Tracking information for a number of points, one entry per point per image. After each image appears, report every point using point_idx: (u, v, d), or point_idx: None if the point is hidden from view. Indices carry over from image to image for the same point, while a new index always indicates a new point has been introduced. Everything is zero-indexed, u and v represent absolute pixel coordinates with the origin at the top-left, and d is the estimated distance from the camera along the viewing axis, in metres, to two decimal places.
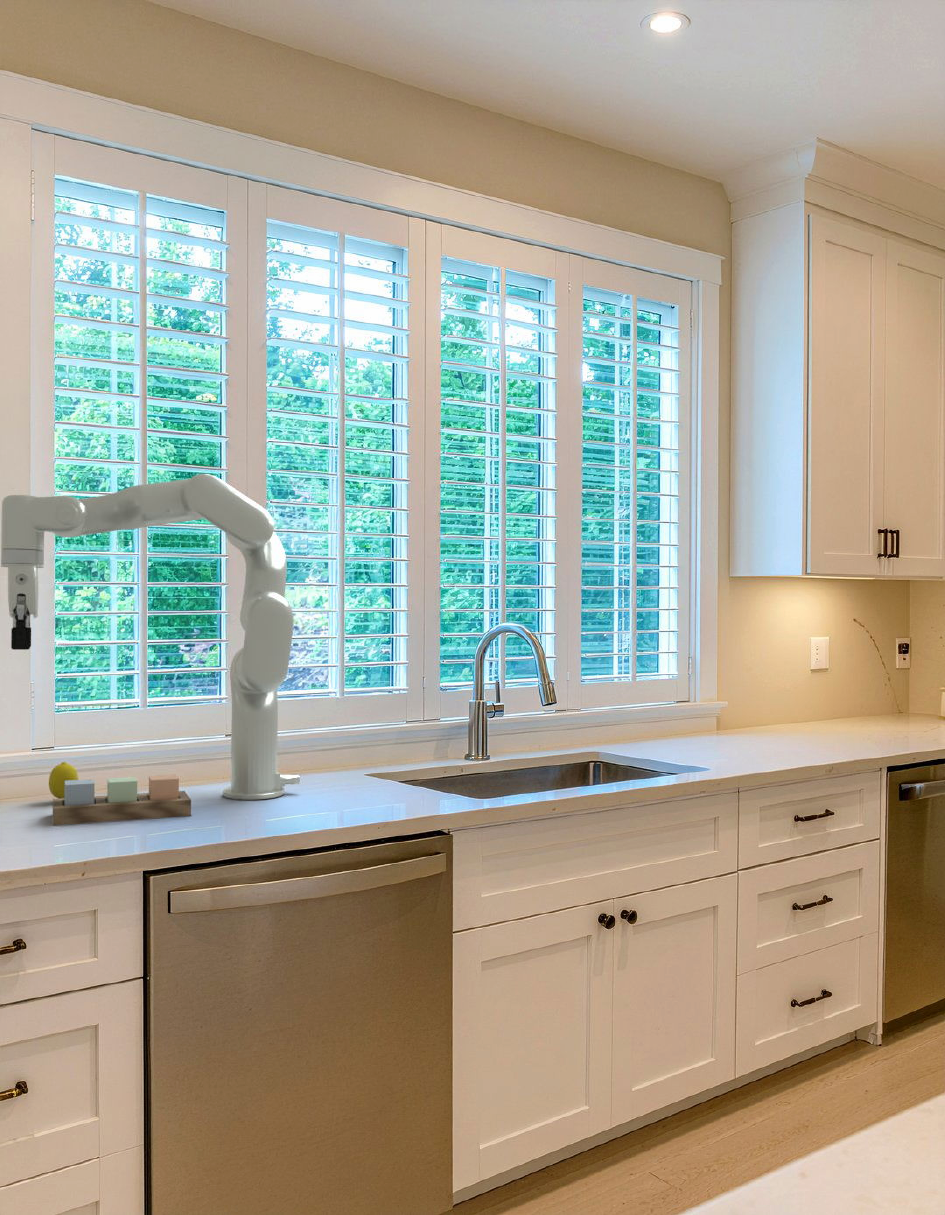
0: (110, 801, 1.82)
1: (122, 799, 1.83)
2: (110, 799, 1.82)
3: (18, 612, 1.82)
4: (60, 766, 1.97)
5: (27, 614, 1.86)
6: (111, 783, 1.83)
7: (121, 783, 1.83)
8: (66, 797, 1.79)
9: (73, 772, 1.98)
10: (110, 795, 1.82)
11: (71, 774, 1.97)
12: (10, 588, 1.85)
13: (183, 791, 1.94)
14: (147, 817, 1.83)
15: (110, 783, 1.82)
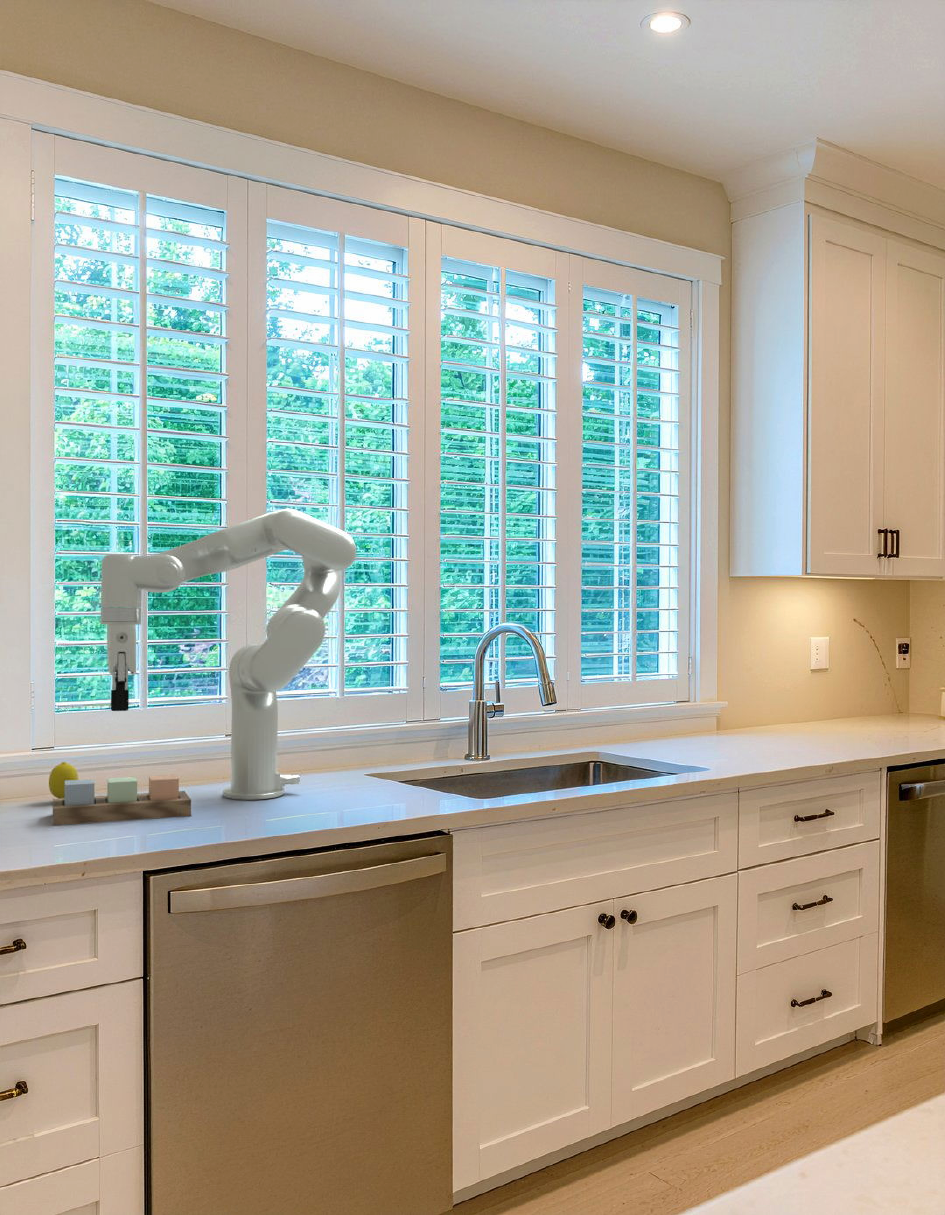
0: (110, 801, 1.82)
1: (122, 799, 1.83)
2: (110, 799, 1.82)
3: (119, 682, 1.89)
4: (60, 766, 1.97)
5: (126, 677, 1.92)
6: (111, 783, 1.83)
7: (121, 783, 1.83)
8: (66, 797, 1.79)
9: (73, 772, 1.98)
10: (110, 795, 1.82)
11: (71, 774, 1.97)
12: (111, 646, 1.88)
13: (183, 791, 1.94)
14: (147, 817, 1.83)
15: (110, 783, 1.82)
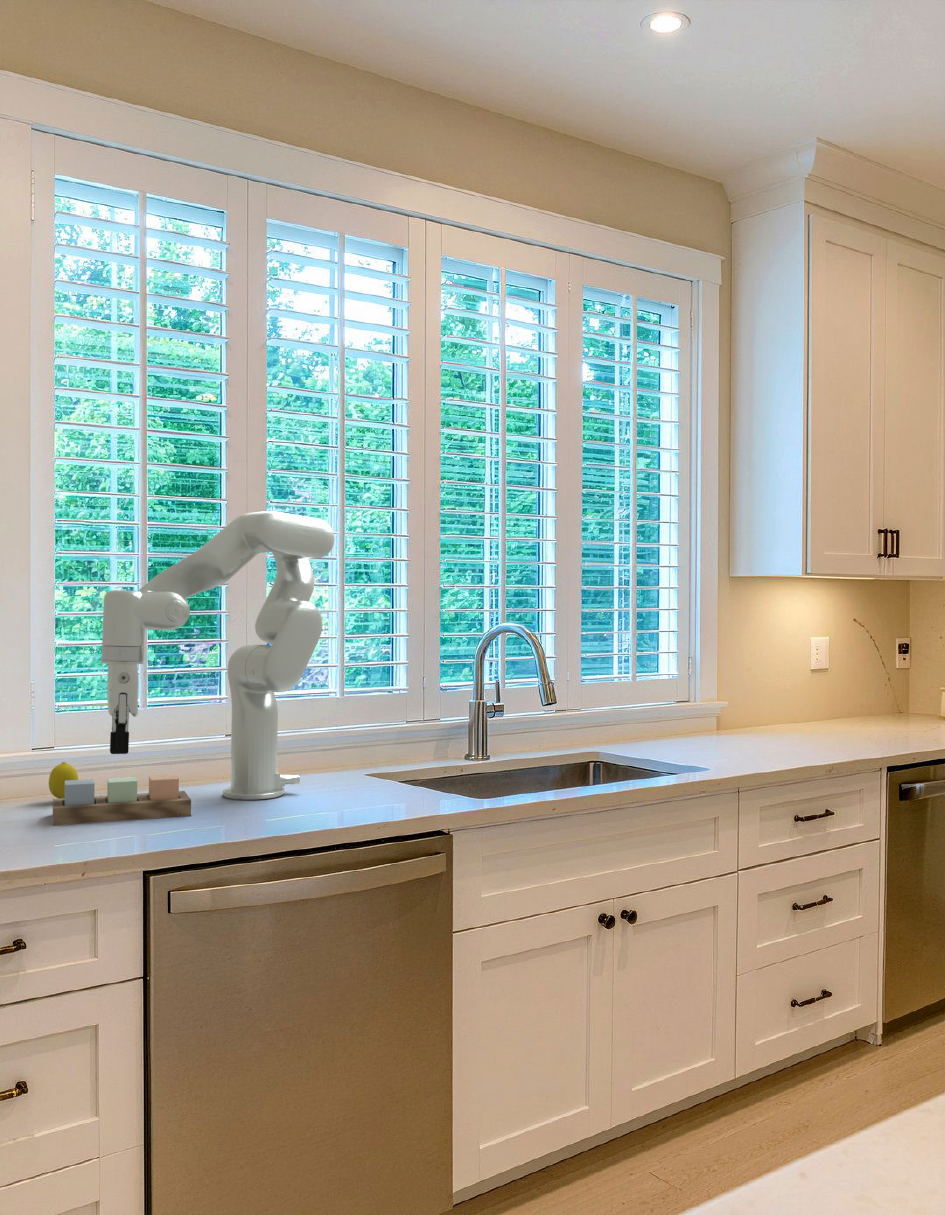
0: (110, 801, 1.82)
1: (122, 799, 1.83)
2: (110, 799, 1.82)
3: (119, 724, 1.81)
4: (60, 766, 1.97)
5: (127, 719, 1.84)
6: (111, 783, 1.83)
7: (121, 783, 1.83)
8: (66, 797, 1.79)
9: (73, 772, 1.98)
10: (110, 795, 1.82)
11: (71, 774, 1.97)
12: (112, 687, 1.81)
13: (183, 791, 1.94)
14: (147, 817, 1.83)
15: (110, 783, 1.82)
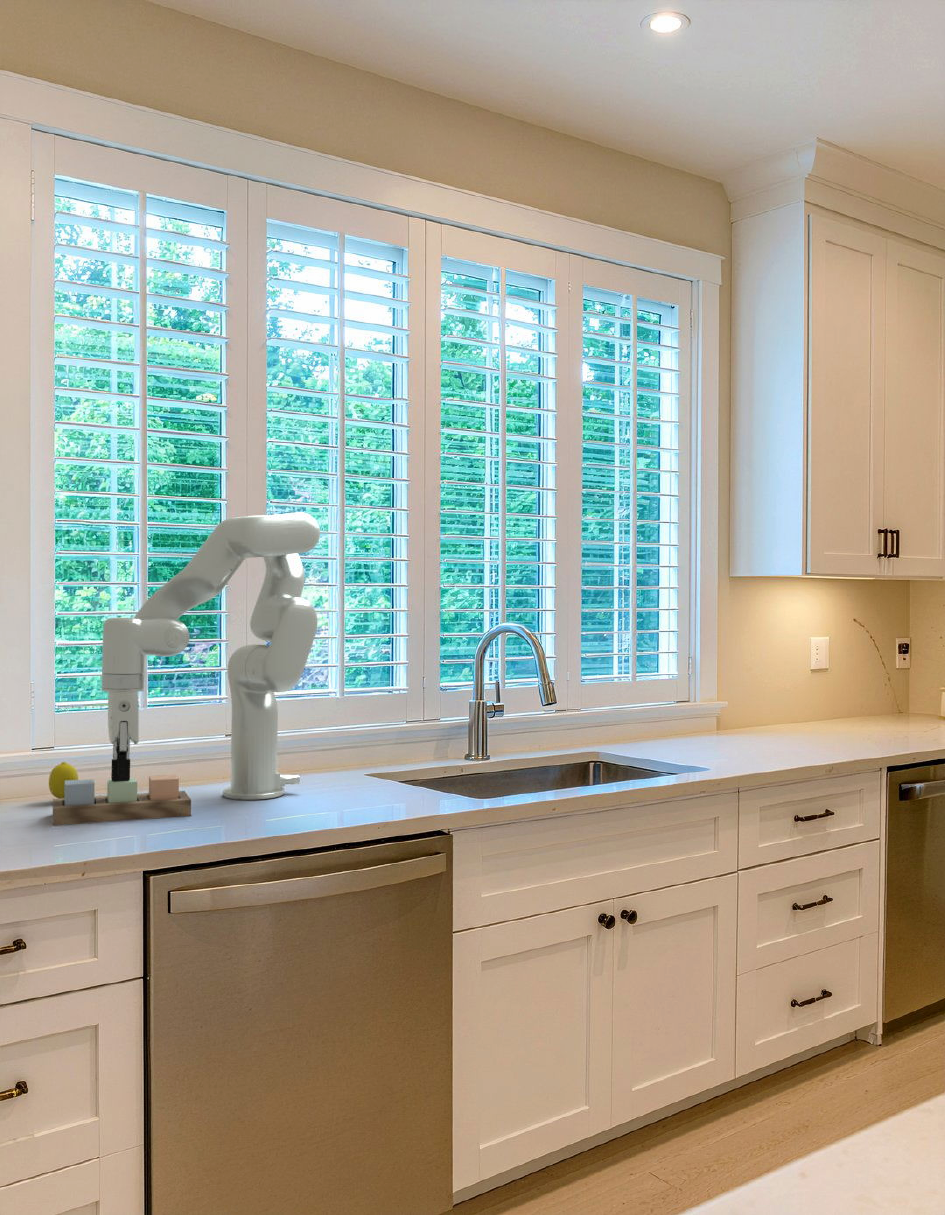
0: (110, 802, 1.82)
1: (122, 800, 1.83)
2: (110, 800, 1.82)
3: (120, 752, 1.82)
4: (60, 766, 1.97)
5: (128, 746, 1.84)
6: (111, 784, 1.83)
7: (121, 784, 1.83)
8: (66, 797, 1.79)
9: (73, 772, 1.98)
10: (110, 796, 1.82)
11: (71, 774, 1.97)
12: (112, 715, 1.81)
13: (183, 791, 1.94)
14: (147, 817, 1.83)
15: (110, 784, 1.82)
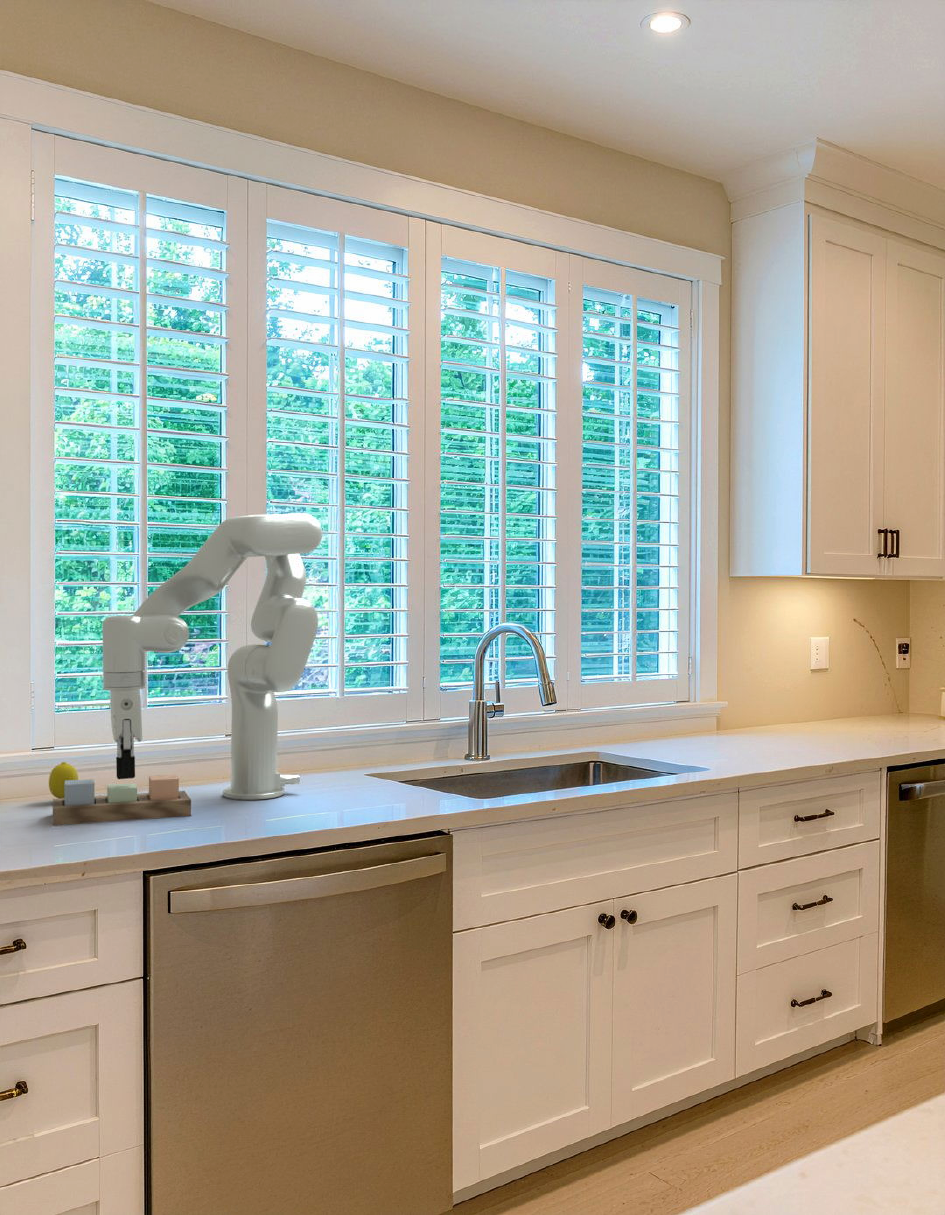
0: None
1: None
2: None
3: (124, 750, 1.82)
4: (60, 766, 1.97)
5: (132, 744, 1.85)
6: (111, 790, 1.83)
7: (121, 790, 1.83)
8: (66, 797, 1.79)
9: (73, 772, 1.98)
10: (110, 802, 1.82)
11: (71, 774, 1.97)
12: (115, 714, 1.81)
13: (183, 791, 1.94)
14: (147, 817, 1.83)
15: (110, 790, 1.82)
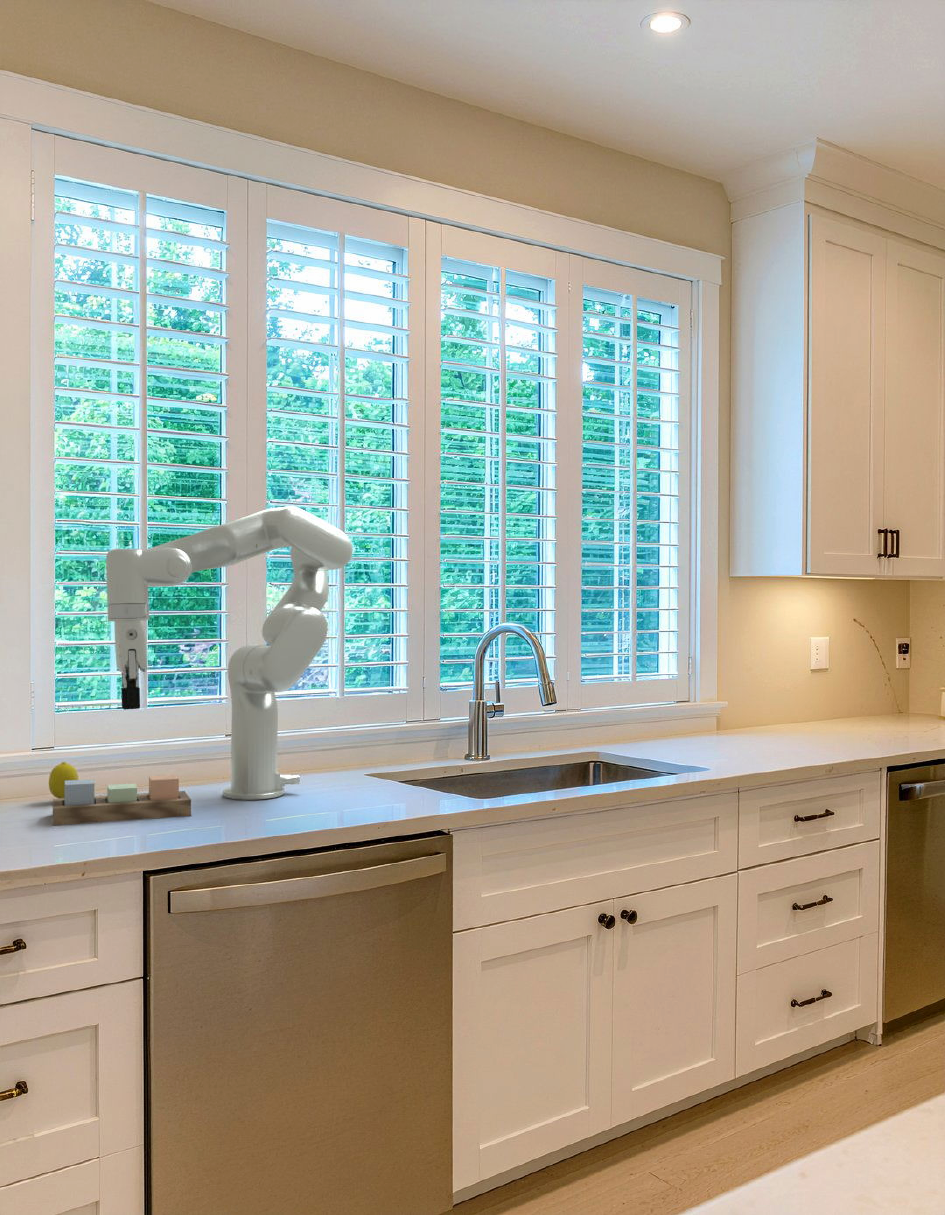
0: None
1: None
2: None
3: (130, 680, 1.85)
4: (60, 766, 1.97)
5: (137, 674, 1.87)
6: (111, 790, 1.83)
7: (121, 790, 1.83)
8: (66, 797, 1.79)
9: (73, 772, 1.98)
10: (110, 802, 1.82)
11: (71, 774, 1.97)
12: (121, 644, 1.84)
13: (183, 791, 1.94)
14: (147, 817, 1.83)
15: (110, 790, 1.82)
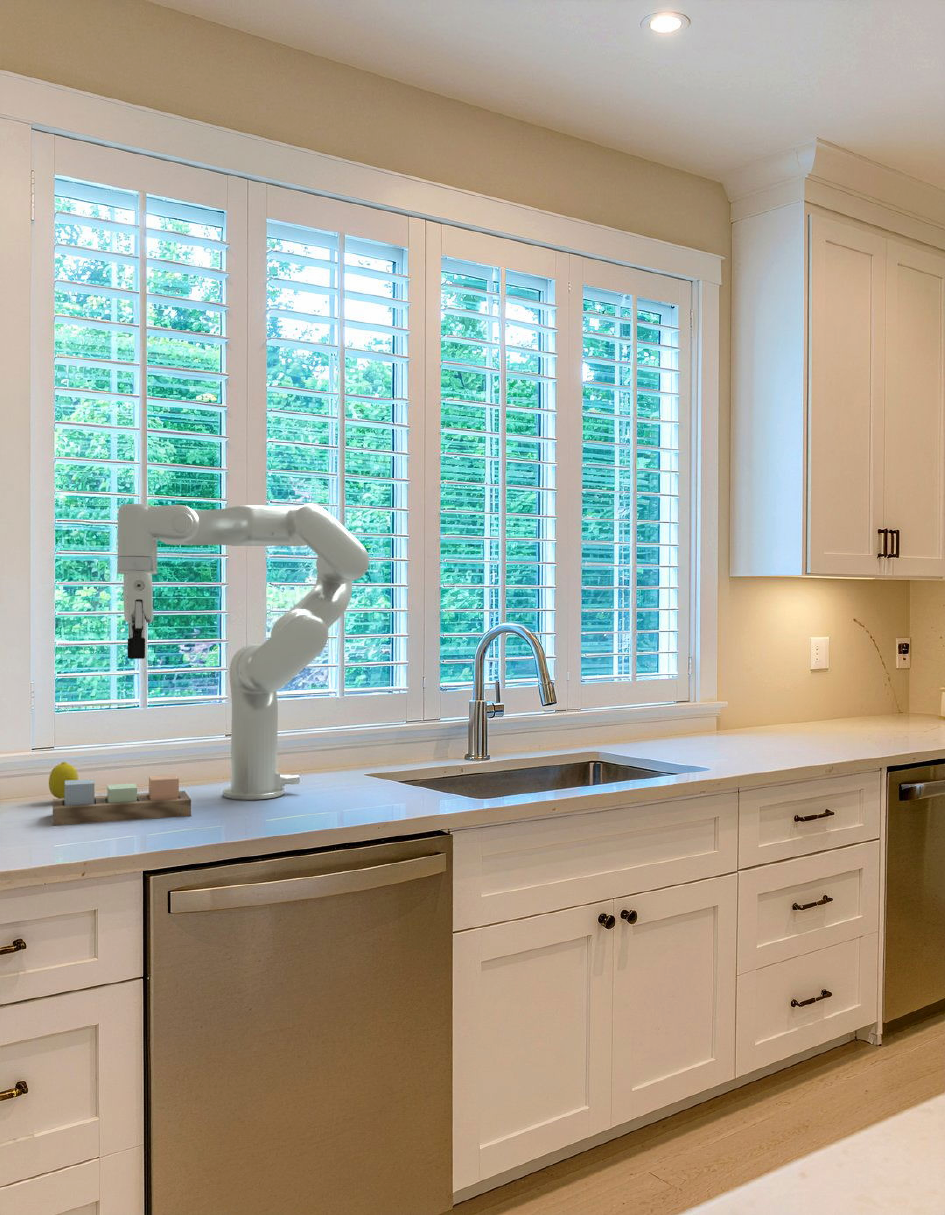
0: None
1: None
2: None
3: (136, 629, 1.92)
4: (60, 766, 1.97)
5: (143, 625, 1.95)
6: (111, 790, 1.83)
7: (121, 790, 1.83)
8: (66, 797, 1.79)
9: (73, 772, 1.98)
10: (110, 802, 1.82)
11: (71, 774, 1.97)
12: (128, 594, 1.91)
13: (183, 791, 1.94)
14: (147, 817, 1.83)
15: (110, 790, 1.82)
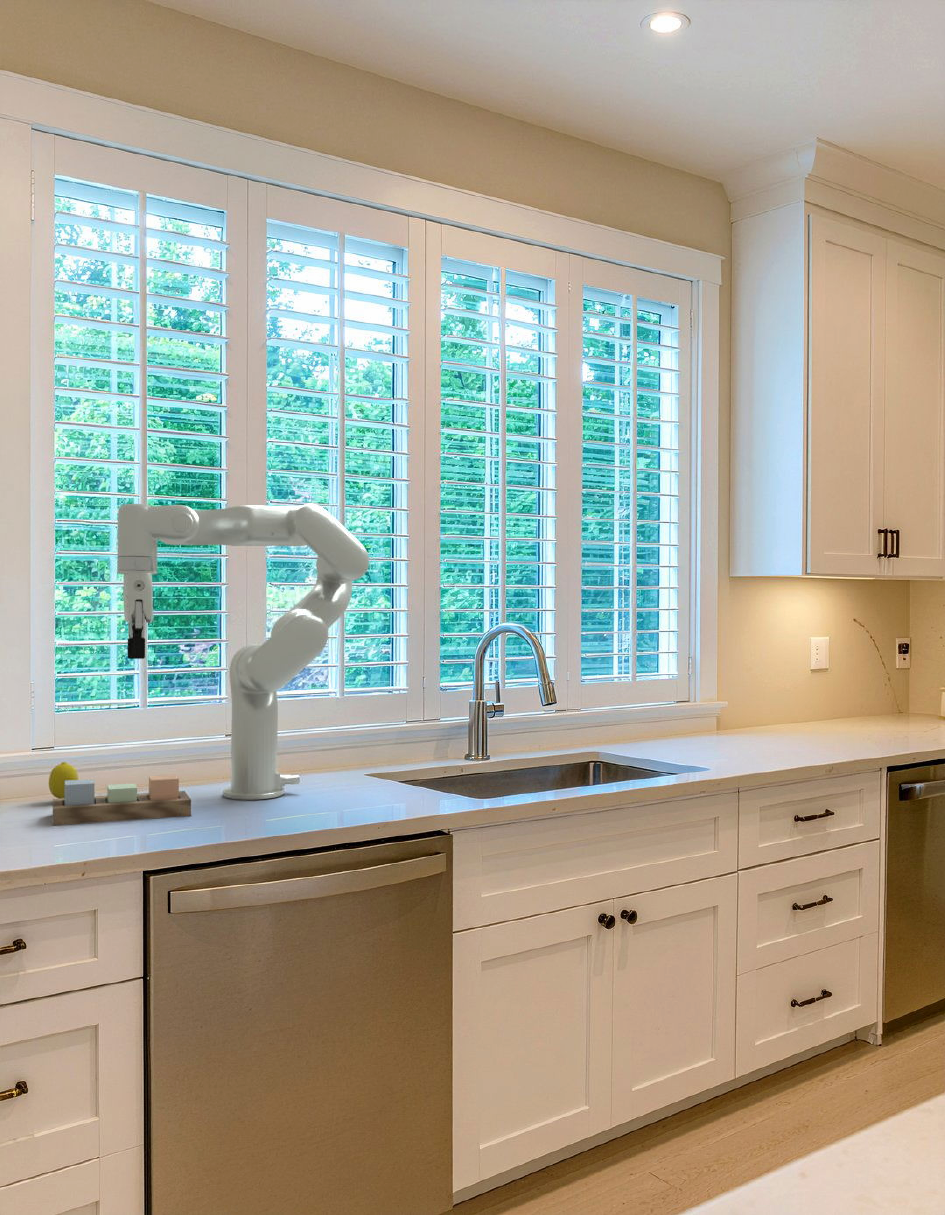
0: None
1: None
2: None
3: (136, 629, 1.92)
4: (60, 766, 1.97)
5: (143, 625, 1.95)
6: (111, 790, 1.83)
7: (121, 790, 1.83)
8: (66, 797, 1.79)
9: (73, 772, 1.98)
10: (110, 802, 1.82)
11: (71, 774, 1.97)
12: (128, 594, 1.91)
13: (183, 791, 1.94)
14: (147, 817, 1.83)
15: (110, 790, 1.82)
